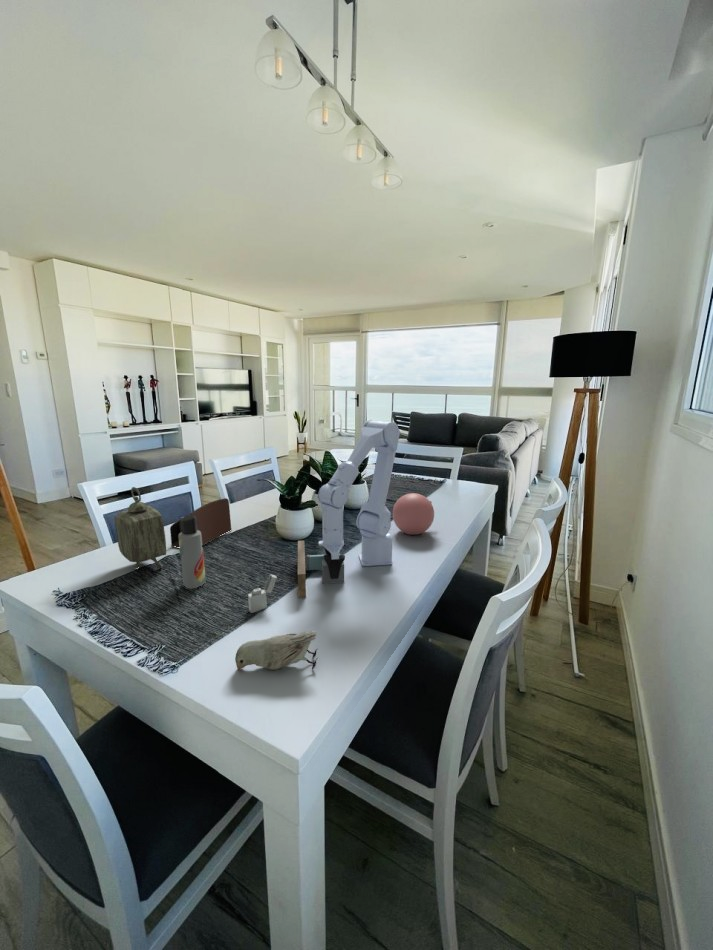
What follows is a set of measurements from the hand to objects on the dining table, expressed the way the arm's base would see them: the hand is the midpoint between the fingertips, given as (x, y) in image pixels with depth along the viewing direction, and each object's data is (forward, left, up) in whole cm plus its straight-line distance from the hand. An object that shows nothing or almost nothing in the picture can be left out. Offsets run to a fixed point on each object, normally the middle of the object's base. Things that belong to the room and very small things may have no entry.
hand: (333, 571), depth 109 cm
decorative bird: (+14, +33, -3) cm, 36 cm away
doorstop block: (0, 0, -2) cm, 2 cm away
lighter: (+18, +12, -3) cm, 22 cm away
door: (+2, -7, -2) cm, 8 cm away
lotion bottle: (+38, -2, -3) cm, 39 cm away
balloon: (-34, -32, -3) cm, 47 cm away
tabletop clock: (+56, -16, -3) cm, 59 cm away
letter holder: (+44, -36, -3) cm, 57 cm away
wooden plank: (+9, -2, -2) cm, 10 cm away
